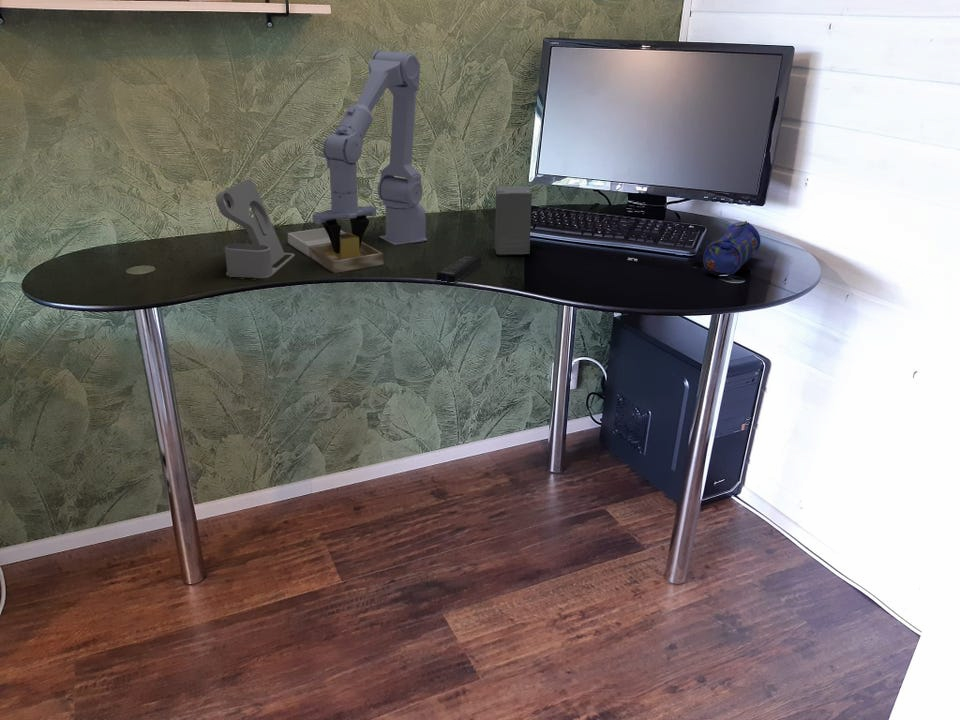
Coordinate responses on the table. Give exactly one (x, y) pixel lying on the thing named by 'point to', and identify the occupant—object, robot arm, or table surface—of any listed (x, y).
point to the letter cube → (348, 246)
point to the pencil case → (732, 248)
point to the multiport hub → (458, 268)
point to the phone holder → (250, 233)
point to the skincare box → (513, 219)
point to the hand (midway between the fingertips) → (346, 250)
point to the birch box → (336, 264)
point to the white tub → (309, 239)
